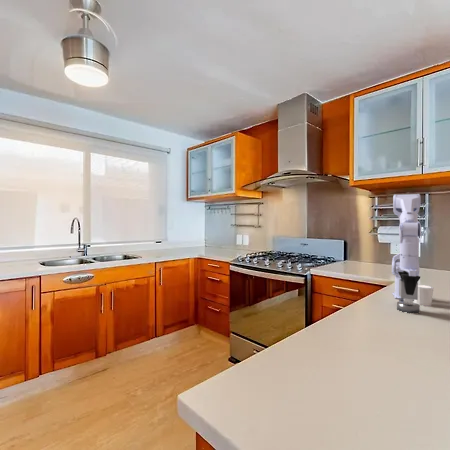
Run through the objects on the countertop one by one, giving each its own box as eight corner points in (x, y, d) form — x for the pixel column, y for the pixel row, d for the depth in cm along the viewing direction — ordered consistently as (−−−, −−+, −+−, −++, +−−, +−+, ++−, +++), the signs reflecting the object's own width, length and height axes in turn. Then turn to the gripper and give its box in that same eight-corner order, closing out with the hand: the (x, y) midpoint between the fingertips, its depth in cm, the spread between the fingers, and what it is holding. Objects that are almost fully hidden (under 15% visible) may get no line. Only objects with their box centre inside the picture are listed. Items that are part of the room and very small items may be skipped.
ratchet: (393, 302, 117) (393, 290, 117) (413, 304, 115) (414, 291, 115) (398, 312, 105) (398, 298, 105) (421, 314, 102) (421, 300, 102)
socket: (399, 295, 110) (399, 279, 110) (414, 296, 108) (415, 280, 108) (401, 298, 105) (401, 281, 105) (417, 299, 103) (417, 282, 103)
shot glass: (423, 307, 112) (424, 288, 112) (408, 302, 118) (408, 284, 118) (437, 305, 113) (438, 287, 113) (421, 301, 120) (421, 283, 120)
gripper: (393, 252, 115) (393, 287, 115) (399, 256, 101) (398, 296, 101) (414, 254, 112) (414, 289, 112) (423, 258, 98) (422, 298, 99)
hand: (408, 292), depth 107 cm, fingers closed on socket, 5 cm apart
